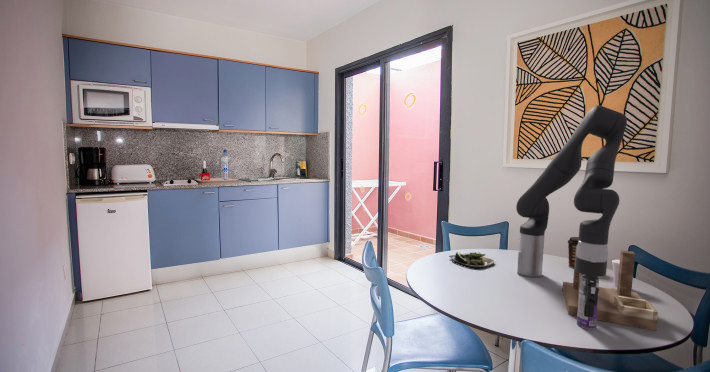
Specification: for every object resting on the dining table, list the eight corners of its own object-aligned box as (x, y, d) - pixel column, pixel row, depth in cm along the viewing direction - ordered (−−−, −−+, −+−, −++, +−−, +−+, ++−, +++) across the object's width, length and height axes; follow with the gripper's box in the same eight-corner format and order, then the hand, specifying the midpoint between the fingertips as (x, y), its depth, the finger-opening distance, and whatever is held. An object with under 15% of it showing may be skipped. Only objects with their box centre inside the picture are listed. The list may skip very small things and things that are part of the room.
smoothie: (634, 290, 130) (638, 254, 128) (615, 289, 131) (618, 252, 129) (624, 284, 136) (628, 249, 134) (606, 282, 137) (609, 248, 136)
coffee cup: (588, 266, 156) (591, 238, 155) (589, 272, 149) (591, 242, 148) (566, 263, 161) (568, 235, 159) (565, 268, 154) (567, 239, 152)
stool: (568, 314, 111) (572, 259, 109) (562, 289, 131) (565, 242, 129) (656, 330, 101) (662, 270, 99) (635, 300, 121) (640, 250, 119)
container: (592, 323, 105) (596, 275, 104) (597, 331, 101) (602, 281, 99) (574, 320, 107) (578, 273, 105) (579, 328, 103) (582, 278, 101)
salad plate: (470, 253, 175) (470, 244, 175) (503, 263, 161) (503, 253, 160) (444, 260, 164) (444, 251, 164) (476, 272, 150) (477, 261, 149)
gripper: (573, 248, 110) (569, 300, 112) (579, 262, 97) (575, 320, 99) (602, 252, 106) (598, 305, 108) (612, 266, 94) (607, 326, 95)
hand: (587, 312), depth 103 cm, fingers closed on container, 4 cm apart
